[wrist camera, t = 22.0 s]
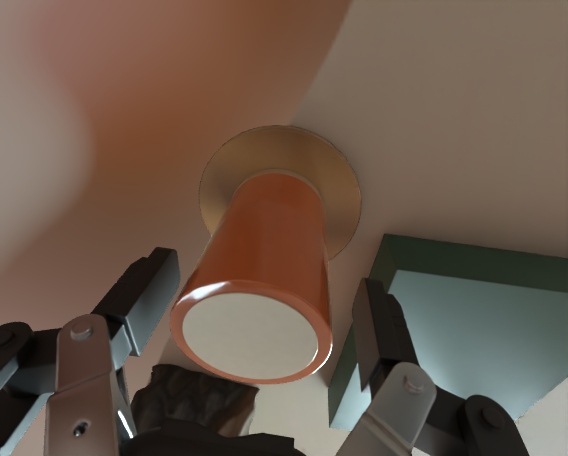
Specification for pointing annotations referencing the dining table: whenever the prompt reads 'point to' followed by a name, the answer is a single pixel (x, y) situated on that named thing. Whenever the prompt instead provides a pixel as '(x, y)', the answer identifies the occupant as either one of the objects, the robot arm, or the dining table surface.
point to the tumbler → (261, 285)
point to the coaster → (291, 156)
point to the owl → (194, 401)
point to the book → (469, 323)
